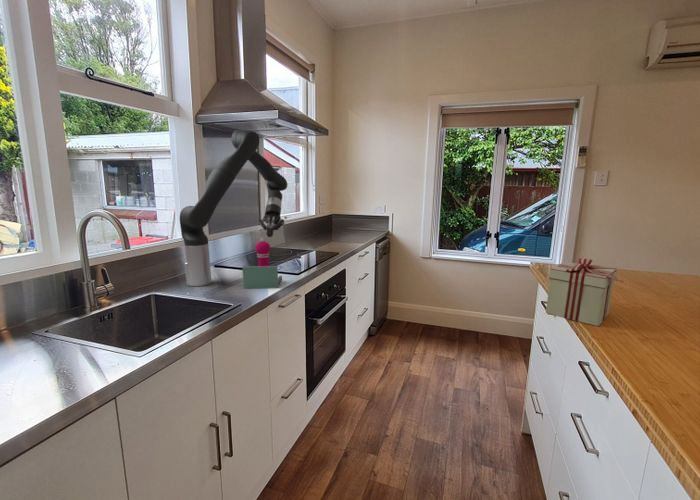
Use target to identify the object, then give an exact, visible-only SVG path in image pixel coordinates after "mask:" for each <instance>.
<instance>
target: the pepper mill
mask: <svg viewBox="0 0 700 500" xmlns="http://www.w3.org/2000/svg"><path fill="white" fill-rule="evenodd" d="M259 240H260V241H259V242H257V243H256V244H255V251H256V252H257V253H256V255H257V256H256V257H257V258H258V264H257V266H271V265H270V261H269V257H270V253H269V252H270V251H271V245H270V243H268V242H267V241H265V238H264V237H261V238H260V239H259Z"/></svg>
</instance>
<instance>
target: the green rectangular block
mask: <svg viewBox="0 0 700 500" xmlns="http://www.w3.org/2000/svg"><path fill="white" fill-rule="evenodd" d="M241 269H242V271H241V272H242V280H243V281H242V282H243V289H278V288H279V287H280V286H281V284H282V282H283V276H282V275H279V271H278V266H277V265H270V266H258V265H257V266H256V265H253V266H252V265H251V266H249V265H248V266H242V267H241Z"/></svg>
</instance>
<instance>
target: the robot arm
mask: <svg viewBox="0 0 700 500" xmlns="http://www.w3.org/2000/svg"><path fill="white" fill-rule="evenodd" d="M231 143H232V146H233V147H234V148H235V151H234V152H232V153H231V155H229V156H227V157H226V158H224V159H223V160H222V161H220V162H219V163H218V164H216V166H215V167H214V168H213V170H212V171H211V173H210V174H209V175H208V177H207V181H206V184H205V187H204V192H203V193H202V195H201V197H200V198H199V199H198V201H197V202H196V204H195V205H187V206H185V207H184V208H182V209H181V211H180V213H179V225H180V232H181V238H182V240H183V242H184V250H185V260H186V261H185V263H184V270H185V281H186V286H190V287H201V286H208V285H210V284H212V281H213V280H212V271H211V269H212V268H211V257H210V247H209V239H208V236H207V235H206V234H205V231H204V228H205V227H206V226H208V224H209V222H210V221H211V218H212V217H213V214H214V213H215V210H216V208H217V206H218V205H219V203H220V202H221V200H222V199H223V197H224V196H225V194H226V193H227V191H228V190H229V189H230V187H231V185H232V184H233V182H234V181H235V179H236V178H237V176H238V174H239V172H241V170H242V169H243V167H244V166H245V164H246V163H247V162H248V161H249V162H250V163H251V165H252V166H254V168H255V169H256V170H257V172H258V173H259V174H260V175H261V177H262V179H264V181H266V189H267V194H268V196H267V201H266V205H265V211H264V215H263V217H262V219H260V218H259V219H258V223H259V225H260V226H261V227H262V229H263V230H264V231H266V235H267V237H268V238H272V237H273V235H274V231H278V230H279V229H281V228H282V226H284V224H285V220H284V218H282V217H281V213H282V205H283V204H282V200H283V194H282V191H285V190H286V189H287V188H288V182H287V179H286V178H285V177H284V176H283V175H282V174H280V173H279V172H278V171H276V170H275V168H274V167H273V164H271V163H270V162H269V161H268V160H267V158H265V157H264V156H262V155H261V154H260V153H259V152H258V151H257V150H258V149H259V145H260V136H259V134H258V133H257V132H255V131H252V130H247V129H236V130H234V131H233V133H232V135H231Z"/></svg>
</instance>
